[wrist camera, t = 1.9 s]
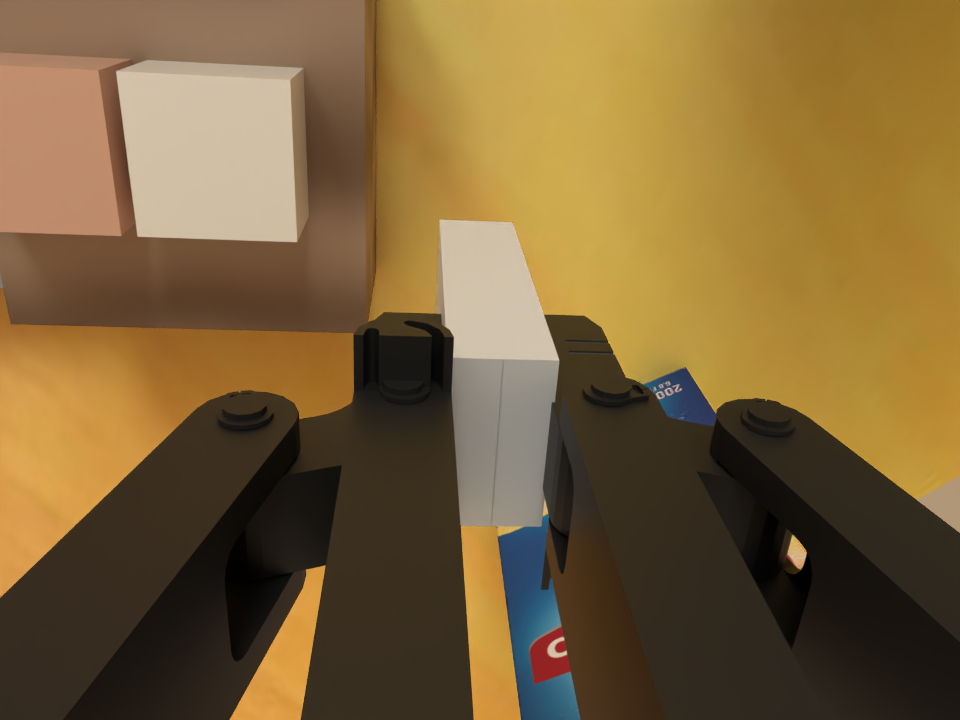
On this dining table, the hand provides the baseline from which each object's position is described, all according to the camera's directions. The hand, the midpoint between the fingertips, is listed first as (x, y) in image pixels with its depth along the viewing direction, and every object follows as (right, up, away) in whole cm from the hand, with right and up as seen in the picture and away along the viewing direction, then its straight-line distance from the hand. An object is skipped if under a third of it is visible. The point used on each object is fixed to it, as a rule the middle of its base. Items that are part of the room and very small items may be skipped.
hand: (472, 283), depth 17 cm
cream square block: (-8, +6, +11) cm, 15 cm away
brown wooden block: (-11, +9, +17) cm, 22 cm away
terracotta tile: (-14, +6, +10) cm, 18 cm away
